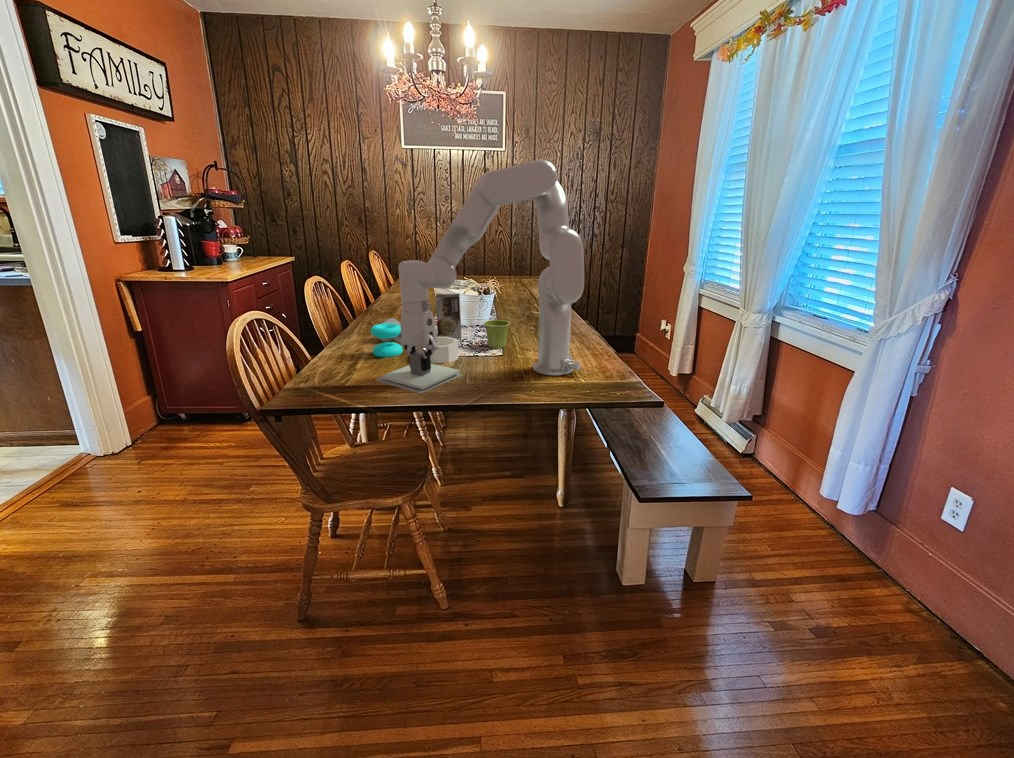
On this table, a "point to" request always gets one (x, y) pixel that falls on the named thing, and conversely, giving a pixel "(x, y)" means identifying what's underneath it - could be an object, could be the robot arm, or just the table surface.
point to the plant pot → (496, 332)
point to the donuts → (388, 347)
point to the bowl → (445, 350)
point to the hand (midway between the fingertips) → (420, 368)
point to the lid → (419, 373)
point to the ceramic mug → (393, 337)
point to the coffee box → (448, 315)
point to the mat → (418, 388)
